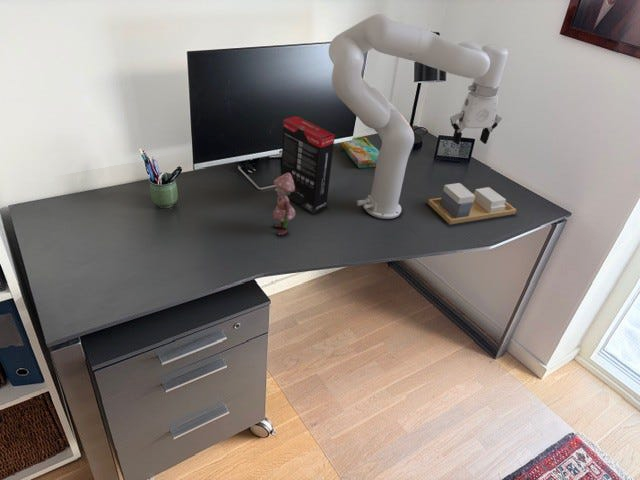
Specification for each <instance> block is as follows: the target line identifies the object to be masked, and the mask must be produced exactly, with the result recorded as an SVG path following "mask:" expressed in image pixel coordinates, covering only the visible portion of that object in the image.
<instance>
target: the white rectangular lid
mask: <svg viewBox="0 0 640 480" xmlns="http://www.w3.org/2000/svg"><path fill="white" fill-rule="evenodd" d="M443 191H444V192H446V193H447V194H448V195H449V196H450V197H451V198H452V199H453V200H455V201H456V202H457V203H458V204H461V203H468V202H474V199H475V195H474V194H473V192H471V191H470V190H469V189H468V188H467V187H465V186H464V185H463V184H462V183H460V182H457V183H456V182H455V183H449V184H444V185H443Z"/></svg>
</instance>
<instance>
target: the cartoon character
mask: <svg viewBox="0 0 640 480" xmlns="http://www.w3.org/2000/svg"><path fill="white" fill-rule="evenodd" d="M273 185H274V186H275V187H276V188H275V189H274V190H275V191H276V192H275V193H276V195H277V201H276V204H277V205H276V207H275V208H274V210H273V212H272V218H273V219H274V220H276V221H277V222H280V223H277V224H275V225H274V227H275V228H276V229H277V228H278V229H282V230H281V231H280V232H278V236H283V235H284V236H285V235H287V234H288V222H289V221H292V220H293V219H294V218H295V216H296V210H295V209H294V206H292V205H291V203H290V199H289V198H288V197H287V195H289V194H290V193H291V192H293V191H294V190H295V185H294V181H293V178H292V176H291V174H290V173H286V174H283V175H282V176H281V175H279V176H278V177H277V178H275V179H274V181H273Z"/></svg>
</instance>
